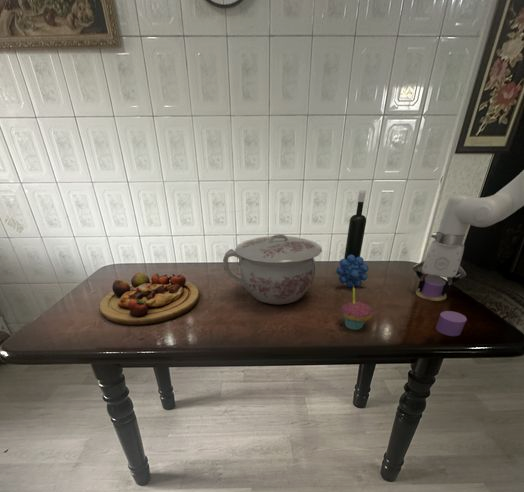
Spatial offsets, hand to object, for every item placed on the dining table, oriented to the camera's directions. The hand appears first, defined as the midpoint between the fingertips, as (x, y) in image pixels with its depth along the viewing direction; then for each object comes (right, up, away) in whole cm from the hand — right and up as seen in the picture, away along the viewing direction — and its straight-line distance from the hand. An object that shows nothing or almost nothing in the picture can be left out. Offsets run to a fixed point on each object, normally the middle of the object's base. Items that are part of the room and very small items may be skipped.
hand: (431, 291), depth 103 cm
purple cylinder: (0, -1, 0) cm, 1 cm away
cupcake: (-32, -13, -16) cm, 38 cm away
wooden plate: (-95, -4, -2) cm, 96 cm away
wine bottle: (-23, +10, +17) cm, 31 cm away
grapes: (-26, +2, +6) cm, 27 cm away
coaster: (0, -1, +1) cm, 1 cm away
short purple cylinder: (-6, -14, -19) cm, 24 cm away
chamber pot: (-53, -1, +1) cm, 53 cm away
